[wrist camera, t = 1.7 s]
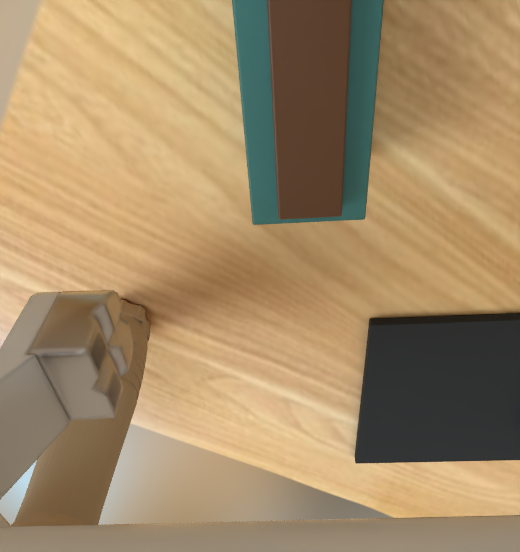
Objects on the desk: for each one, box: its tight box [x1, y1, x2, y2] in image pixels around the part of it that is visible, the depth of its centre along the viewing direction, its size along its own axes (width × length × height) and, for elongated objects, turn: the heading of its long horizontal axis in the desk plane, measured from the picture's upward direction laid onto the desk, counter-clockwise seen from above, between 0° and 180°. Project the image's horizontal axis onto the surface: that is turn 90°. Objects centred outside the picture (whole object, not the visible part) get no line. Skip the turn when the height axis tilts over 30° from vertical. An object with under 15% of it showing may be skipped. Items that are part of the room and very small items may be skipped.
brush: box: [232, 0, 384, 225], centre depth 18 cm, size 4×9×6 cm, turn 4°
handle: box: [11, 300, 150, 527], centre depth 24 cm, size 5×6×15 cm
